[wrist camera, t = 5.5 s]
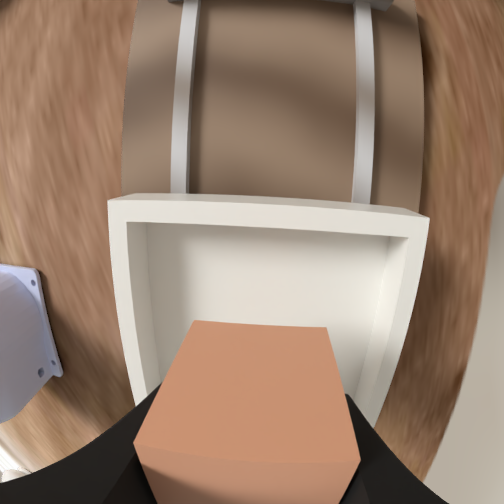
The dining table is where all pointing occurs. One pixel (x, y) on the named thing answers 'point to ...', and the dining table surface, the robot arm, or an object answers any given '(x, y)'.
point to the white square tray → (266, 278)
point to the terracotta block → (250, 419)
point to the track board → (276, 100)
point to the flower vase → (14, 474)
